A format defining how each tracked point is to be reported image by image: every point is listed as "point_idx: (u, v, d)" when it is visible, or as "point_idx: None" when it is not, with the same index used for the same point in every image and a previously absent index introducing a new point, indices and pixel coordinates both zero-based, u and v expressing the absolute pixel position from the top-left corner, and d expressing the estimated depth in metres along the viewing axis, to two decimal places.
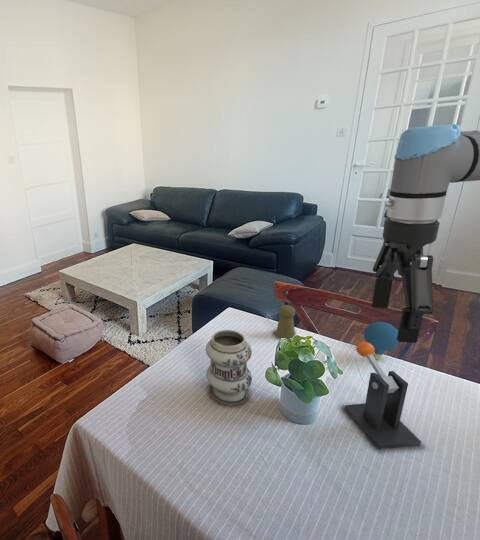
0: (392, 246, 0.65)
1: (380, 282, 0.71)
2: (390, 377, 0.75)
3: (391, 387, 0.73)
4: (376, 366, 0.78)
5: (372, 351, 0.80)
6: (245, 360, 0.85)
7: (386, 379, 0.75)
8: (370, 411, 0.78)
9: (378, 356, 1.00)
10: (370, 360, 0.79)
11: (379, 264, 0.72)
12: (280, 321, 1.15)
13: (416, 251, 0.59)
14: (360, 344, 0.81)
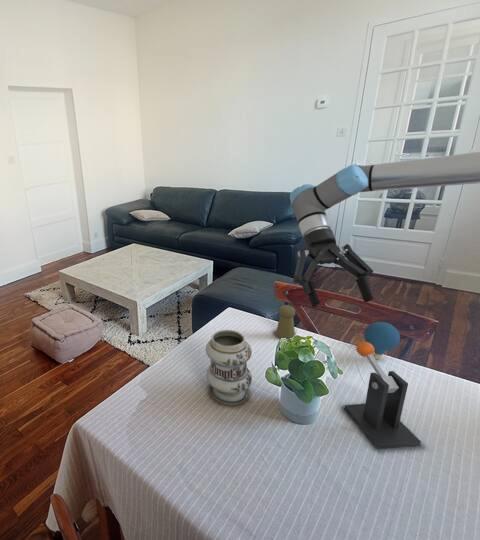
0: None
1: (357, 280, 0.91)
2: (390, 377, 0.75)
3: (391, 387, 0.73)
4: (376, 366, 0.78)
5: (372, 351, 0.80)
6: (245, 360, 0.85)
7: (386, 379, 0.75)
8: (370, 411, 0.78)
9: (378, 356, 1.00)
10: (370, 360, 0.79)
11: None
12: (280, 321, 1.15)
13: (309, 249, 0.95)
14: (360, 344, 0.81)
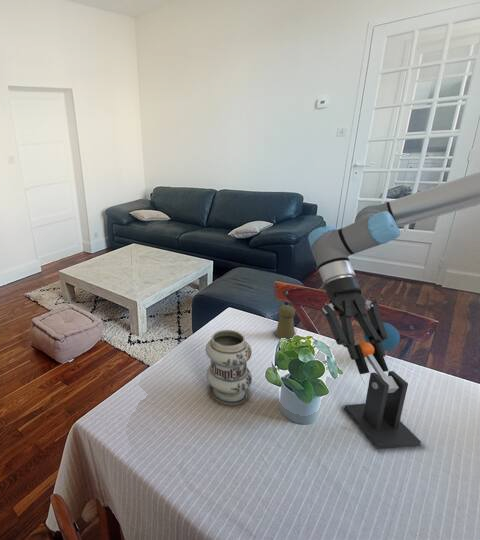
0: None
1: None
2: (390, 377, 0.75)
3: (391, 387, 0.73)
4: (376, 366, 0.78)
5: (372, 351, 0.80)
6: (245, 360, 0.85)
7: (386, 379, 0.75)
8: (370, 411, 0.78)
9: None
10: (370, 360, 0.79)
11: None
12: (280, 321, 1.15)
13: (331, 299, 0.87)
14: (360, 344, 0.81)
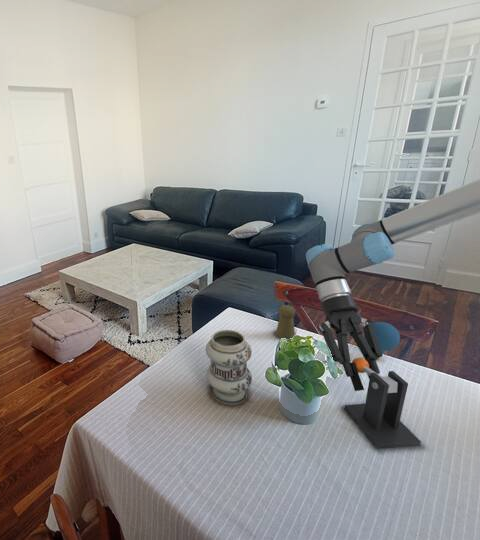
0: None
1: None
2: (387, 377, 0.76)
3: (390, 382, 0.74)
4: None
5: (366, 363, 0.82)
6: (245, 360, 0.85)
7: (383, 378, 0.75)
8: (370, 411, 0.78)
9: None
10: (366, 370, 0.81)
11: (369, 347, 0.86)
12: (280, 321, 1.15)
13: (328, 317, 0.89)
14: (353, 360, 0.84)
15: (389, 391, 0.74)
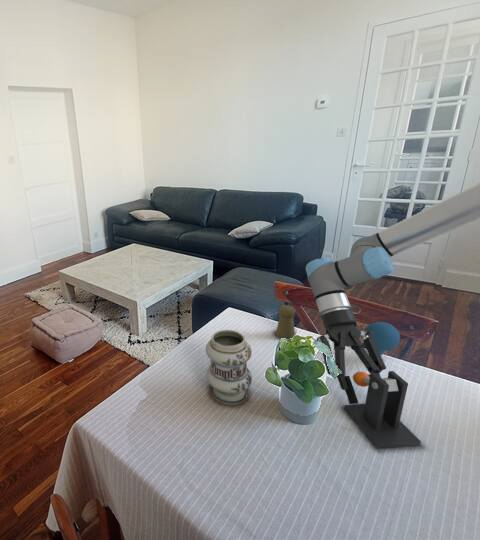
0: None
1: (369, 376, 0.85)
2: (386, 378, 0.76)
3: (388, 380, 0.74)
4: None
5: (366, 375, 0.83)
6: (245, 360, 0.85)
7: (382, 378, 0.76)
8: (370, 411, 0.78)
9: None
10: (367, 380, 0.81)
11: (372, 360, 0.87)
12: (280, 321, 1.15)
13: (327, 330, 0.90)
14: (354, 374, 0.85)
15: (390, 389, 0.74)
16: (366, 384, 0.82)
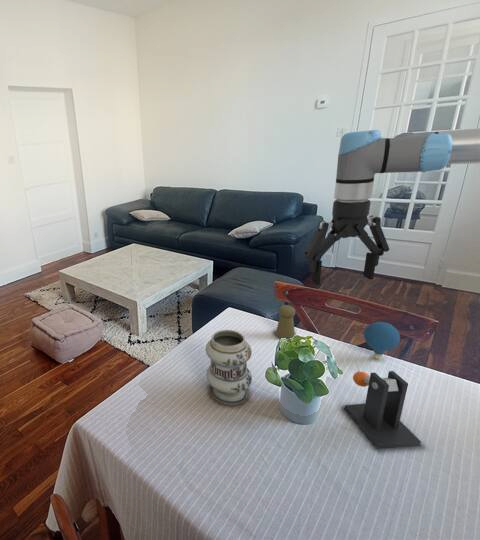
0: None
1: (367, 255, 0.87)
2: (386, 378, 0.76)
3: (388, 380, 0.74)
4: None
5: (366, 375, 0.83)
6: (245, 360, 0.85)
7: (382, 378, 0.76)
8: (370, 411, 0.78)
9: (378, 356, 1.00)
10: (367, 380, 0.81)
11: (375, 241, 0.86)
12: (280, 321, 1.15)
13: (334, 220, 0.83)
14: (354, 374, 0.85)
15: (390, 389, 0.74)
16: (366, 384, 0.82)
